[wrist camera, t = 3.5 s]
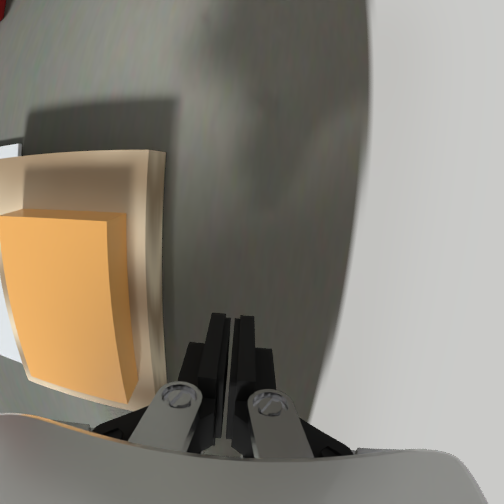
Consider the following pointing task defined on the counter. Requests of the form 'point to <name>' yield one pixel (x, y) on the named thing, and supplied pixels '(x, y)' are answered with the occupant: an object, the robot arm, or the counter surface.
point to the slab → (71, 298)
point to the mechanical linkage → (2, 8)
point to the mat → (3, 338)
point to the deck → (137, 233)
